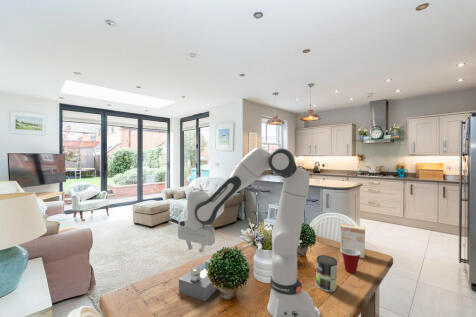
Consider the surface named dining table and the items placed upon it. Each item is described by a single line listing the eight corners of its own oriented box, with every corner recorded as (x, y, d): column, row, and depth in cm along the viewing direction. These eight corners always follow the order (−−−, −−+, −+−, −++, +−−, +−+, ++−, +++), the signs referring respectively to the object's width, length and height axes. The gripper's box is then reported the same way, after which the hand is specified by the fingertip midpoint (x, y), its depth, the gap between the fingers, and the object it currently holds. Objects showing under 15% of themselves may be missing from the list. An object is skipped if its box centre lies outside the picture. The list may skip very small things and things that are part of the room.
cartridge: (207, 273, 124) (208, 258, 124) (215, 275, 122) (215, 260, 121) (195, 284, 113) (195, 268, 113) (203, 287, 111) (203, 270, 111)
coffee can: (320, 291, 112) (320, 264, 111) (313, 280, 122) (313, 254, 122) (340, 291, 112) (341, 264, 112) (331, 280, 122) (332, 255, 122)
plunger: (202, 281, 110) (202, 268, 110) (196, 287, 106) (196, 273, 106) (194, 279, 112) (194, 266, 112) (188, 284, 108) (188, 271, 108)
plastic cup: (351, 265, 139) (352, 246, 139) (364, 274, 128) (365, 254, 128) (336, 266, 137) (336, 247, 137) (348, 276, 126) (349, 255, 126)
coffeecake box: (364, 254, 154) (365, 227, 154) (364, 258, 148) (364, 229, 148) (341, 249, 162) (341, 223, 162) (339, 253, 156) (340, 225, 156)
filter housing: (199, 274, 126) (200, 263, 126) (223, 281, 119) (224, 269, 119) (178, 292, 110) (178, 279, 110) (205, 301, 103) (205, 287, 103)
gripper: (217, 224, 107) (217, 252, 107) (184, 218, 116) (183, 244, 116) (210, 227, 101) (210, 257, 101) (175, 221, 110) (175, 249, 110)
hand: (195, 250), depth 109 cm, fingers open, 5 cm apart
